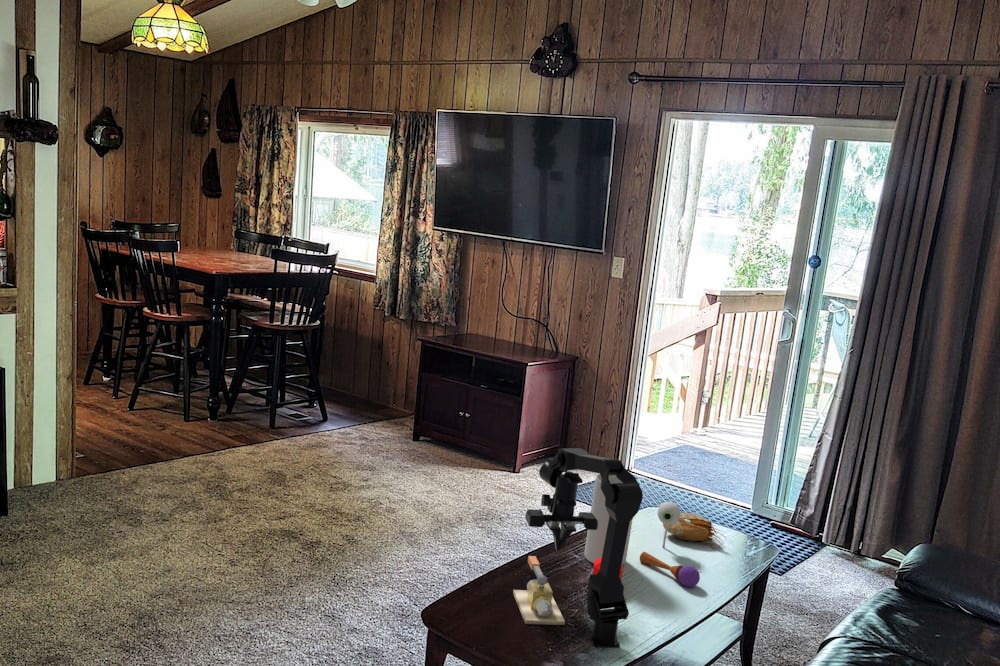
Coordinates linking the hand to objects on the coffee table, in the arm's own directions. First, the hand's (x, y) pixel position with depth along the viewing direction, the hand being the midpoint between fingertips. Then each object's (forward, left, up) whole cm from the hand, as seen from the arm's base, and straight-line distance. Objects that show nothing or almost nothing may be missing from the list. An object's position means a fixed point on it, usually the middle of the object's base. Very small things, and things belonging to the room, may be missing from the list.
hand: (557, 549), depth 230 cm
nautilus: (+40, -58, -12) cm, 71 cm away
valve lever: (-4, +6, -5) cm, 9 cm away
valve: (-10, +6, -12) cm, 17 cm away
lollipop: (+33, -45, -12) cm, 57 cm away
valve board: (-10, +6, -12) cm, 17 cm away
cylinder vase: (+22, -22, -12) cm, 33 cm away
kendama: (+13, -39, -12) cm, 43 cm away
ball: (+5, -17, -12) cm, 22 cm away
